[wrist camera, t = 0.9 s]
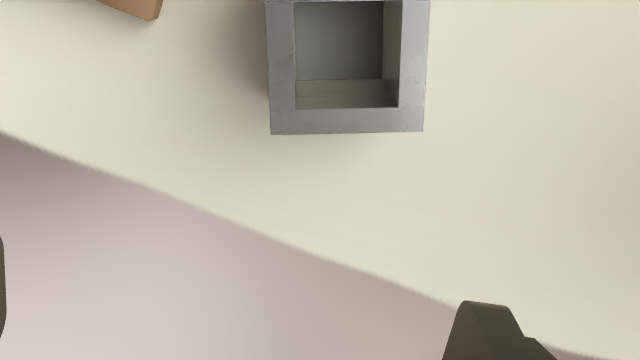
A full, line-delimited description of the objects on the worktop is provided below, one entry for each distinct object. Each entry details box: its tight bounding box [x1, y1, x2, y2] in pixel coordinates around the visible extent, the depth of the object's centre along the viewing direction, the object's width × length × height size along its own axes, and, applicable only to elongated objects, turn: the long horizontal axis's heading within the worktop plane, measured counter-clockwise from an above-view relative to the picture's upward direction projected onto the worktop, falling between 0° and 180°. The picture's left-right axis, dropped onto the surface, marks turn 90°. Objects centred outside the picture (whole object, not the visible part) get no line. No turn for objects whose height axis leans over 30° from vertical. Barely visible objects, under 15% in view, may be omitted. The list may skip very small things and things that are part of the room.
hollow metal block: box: [264, 0, 430, 135], centre depth 24 cm, size 6×6×5 cm
